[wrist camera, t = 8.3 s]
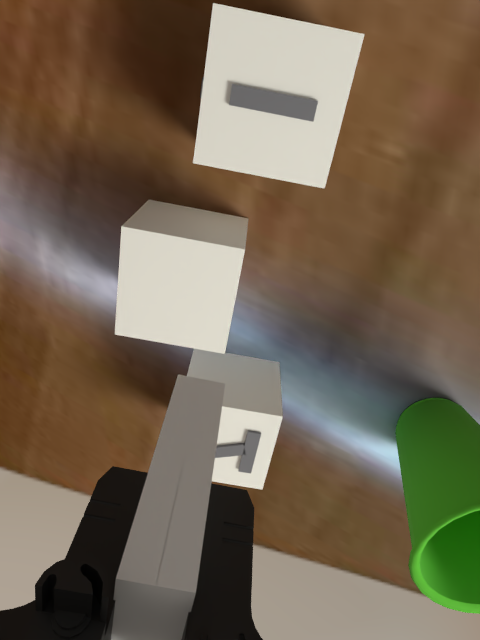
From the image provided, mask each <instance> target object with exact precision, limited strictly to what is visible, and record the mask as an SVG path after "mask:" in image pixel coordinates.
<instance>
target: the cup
mask: <svg viewBox="0 0 480 640" xmlns="http://www.w3.org/2000/svg"><path fill="white" fill-rule="evenodd" d="M395 434H396V441H397V448H398V454H399V461H400V468H401V475H402V482H403V489H404V495H405V502H406V509H407V516H408V523H409V530H410V536H411V543H412V550H411V552H410V559H409V565H408V566H409V570H410V574H411V578H412V580H413V581H414V583H415V584H416V585H417V587H418V588H419V590H420V591H421V592H422V593H423V594H425V595H426V596H427V597H428V598H430V599H431V600H432V601H434V602H436V603H438V604H440V605H442V606H444V607H447V608H449V609H453V610H458V611H462V612H467V613H479V614H480V425H479V424H478V423H477V422H476V421H475V420H474V419H473V418H472V417H471V416H470V415H469V414H468V413H467V412H466V411H465V410H464V408H463V407H462V406H460V405H458V404H456V403H455V402H452V401H450V400H447V399H443V398H429V399H424V400H421V401H418V402H416V403H414V404H412V405H410V406H409V407H408V408H407V409H405V410H404V412H403V413H402V414H401V415H400V417H399V420H398V422H397V425H396V432H395Z"/></svg>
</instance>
